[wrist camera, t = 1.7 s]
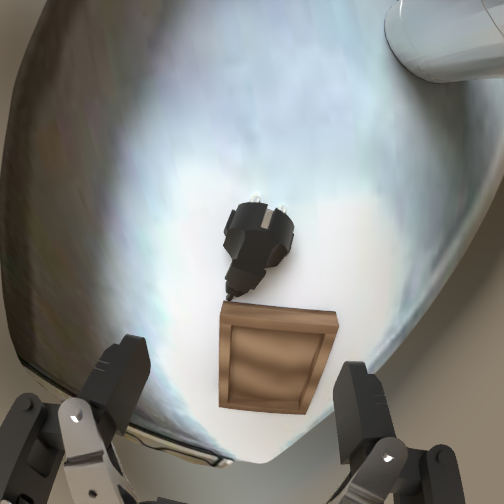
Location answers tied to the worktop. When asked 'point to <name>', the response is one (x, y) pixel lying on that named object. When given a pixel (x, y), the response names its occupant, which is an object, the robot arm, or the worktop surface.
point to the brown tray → (272, 356)
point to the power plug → (255, 244)
